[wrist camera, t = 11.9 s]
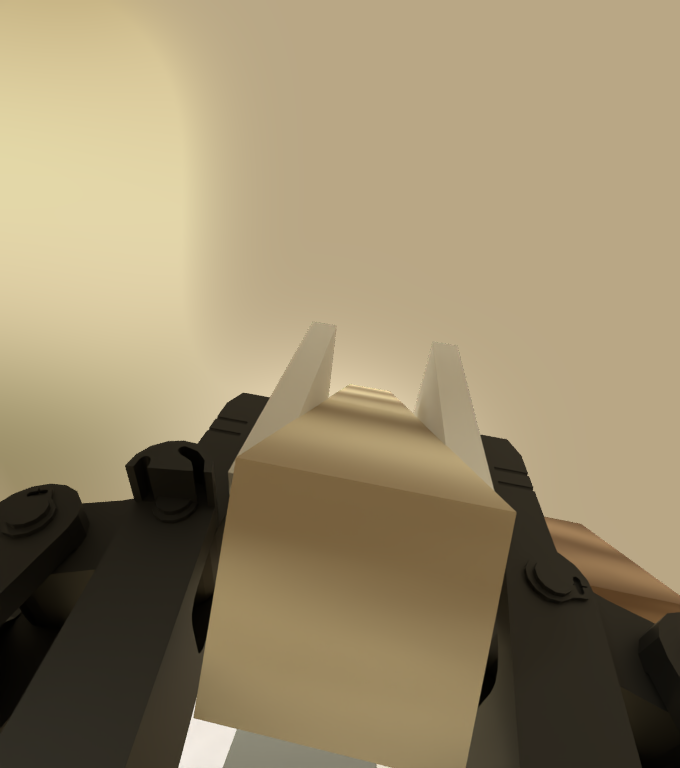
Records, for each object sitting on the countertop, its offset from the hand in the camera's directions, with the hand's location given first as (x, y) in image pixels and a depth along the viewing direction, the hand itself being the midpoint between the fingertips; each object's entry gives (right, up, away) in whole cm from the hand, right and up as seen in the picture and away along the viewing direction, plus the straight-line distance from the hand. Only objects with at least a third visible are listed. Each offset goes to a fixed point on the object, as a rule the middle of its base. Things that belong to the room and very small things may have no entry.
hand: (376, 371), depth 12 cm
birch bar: (0, -4, +4) cm, 6 cm away
